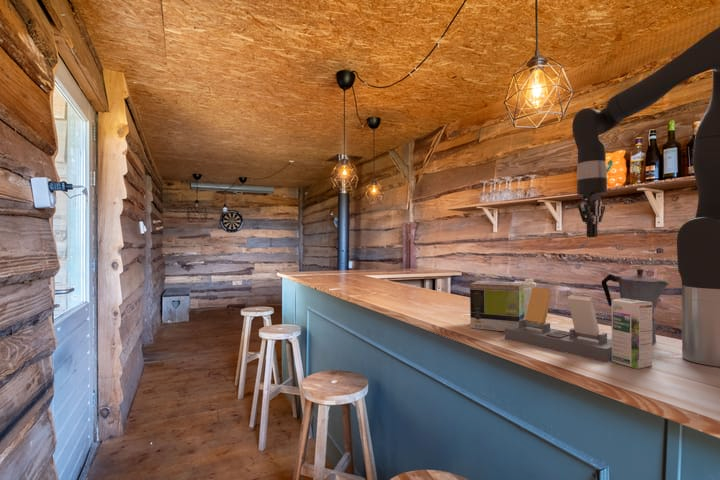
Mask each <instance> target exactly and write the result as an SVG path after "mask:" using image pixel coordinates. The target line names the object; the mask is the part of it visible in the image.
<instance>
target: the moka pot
mask: <svg viewBox="0 0 720 480" xmlns="http://www.w3.org/2000/svg"><path fill="white" fill-rule="evenodd" d="M636 272H637V273H636V274H635V275H629V276H628V275H627V276H622V275H614V274H610V273H609V274H608V275H607V276H606V277H604V278H603V279H602V280H601V287H602V289H603V292H604V295H605V298H606V301H607V304H608V306H609V307H612V300H613V299H612V298H611V294H610V290H609V287H608V284H607V283H608V281H611V282H614V283H618V286H619V297H620V298H619V299H631V300H638V301H645V302H652V345H653V344H656V342H657V337H656V326H655V325H656V324H655V317H654V313H655V308H657V305H658V300H659V298H660V296H661V295H662V294H663V292H664V291H665V289H667V286H669V285H670V283H669V282H668V281H666V280H663V279H657V278H653V277H650V276H646V275H643V274H644V269H641V268H638V269H636Z"/></svg>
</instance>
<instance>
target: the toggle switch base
mask: <svg viewBox="0 0 720 480" xmlns="http://www.w3.org/2000/svg"><path fill="white" fill-rule="evenodd" d="M525 321H526V320H525V319H522V320H519V325H516V326H512V327H508V328H505V331H504V340H509V341H513V342H517V343H518V342H519V343H522V344H526V345H530V346H535V347H540V348H544V349H548V350H553V351H556V352H557V351H558V352H561V353H566V354H570V355H574V356H579V357H583V358H588V359H592V360H596V361H601V362H605V363H607V362H610V361H612V338H611V339H610V338H608V333H606V332H602V333H599V340H595V339H590V338H585V337H579V336H576V332H575V328H574V327H572V328H570V329H569V331H568V330H567V331H566V330H561V329H557V328H556V329H554V328H551V323H549V322H545V324H542V329H537V328H532V327H527V326H524V322H525Z"/></svg>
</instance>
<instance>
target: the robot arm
mask: <svg viewBox="0 0 720 480" xmlns="http://www.w3.org/2000/svg"><path fill="white" fill-rule="evenodd" d="M710 70H712V92H711V98H710V101H709V103H708V106H707V108H706V110H705V112H704V114H703V116H702V118H701V120H700V122H699V123H698V126H697V129H696V132H695V135H694V140H693V141H694V143H693V151H692V168H693V175H694V179H695V183H696V188H697V194H698V196H697V198H698V199H697V209H696V213H695V217H694V218H692V219H690V220H687V221H686V222H685V223H683V224H682V225H681V227H680V228H679V230H678V232H677V236H676V255H677V260H676V261H677V271H678V273H679V276H680V279H681V353H682V355H681V356H682V357H681V358H683V359H684V360H687V361H690V362H693V363H695V364H700V365H705V366H711V367H717V368H719V367H720V26H719V27H717V28H715V29H714V30H712V31H711V32H709V33H708V34H705V36H703V37H701V38H700V39H699V40H697V42H695V43H693V45H691V46H690V47H689V48H687V49H686V50H684V51H683V52H681V53H680V54H679V55H677V56H676V57H675V58H673V59H672V60H670V61H669V62H668V63H667V64H665V65H663V66H662V67H661V68H659V69H657V70H656V71H654V72H653V73H651V74H649V75H648V76H646V77H645V78H644V79H641V80H640V81H638V82H636V83H634V84H633V85H631V86H629V87H627V88H626V89H624V90H622V91H620V92H618V93H617V94H614V96H612V97H611V98H610V99H608V101H607V104H606V106H605V107H604V108H602V109H600V110H598V109H594V108H588V107H587V108H583V109H581V110H579V111H577V113H576V114H575V115H574V117H573V120H572V126H571V127H572V134H573V138H574V142H575V145H576V149H577V168H576V194H577V196H581V197H582V199H581V204H580V203H579V204H577V210H578V212H579V215H580V218H581V221H582V223H584V224H585V225H586V237H587V238H598V225H599V224H600V223H602V221H603V217H604V214H605V210H606V206H605V205H603V202H602V198H601V196H602V195H606V194H607V192H608V169H607V161H606V160H607V157H606V154H607V153H606V152H607V150H606V145H605V143H604V142H603V141H602V140H601V139H600V138H599V136H601V135H603V134H605V133H607V132H609V131H610V130H612V129H614V127H617V126H618V125H619V124H620V123H621V122H622V121H624V120H626V119H627V118H629V117H631V116H634V115H635V114H637V113H639V112H642V111H644V110H646V109H648V108H649V107H651V106H652V105H654V104H656V103H657V102H658V101H660V100H661V99H662V98H663V97H664V96H666V95H667V94H668V93H669V92H670V91H672V90H673V89H674V88H675V87H677V86H679V85H680V84H681V83H684V82H685V81H687V80H688V79H691V78H692V77H696V76H698V75H700V74H702V73H705V72H708V71H710Z"/></svg>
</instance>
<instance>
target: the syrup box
mask: <svg viewBox="0 0 720 480" xmlns="http://www.w3.org/2000/svg"><path fill="white" fill-rule="evenodd" d="M611 300H612V306H611V309H610V310H611V340H612V360H611V362H612V363H616V364H620V365H623V366H625V367H628V368H632V369H635V370H639V369H643V368H647V367H652V366H653V344H652V302H645V301H638V300H631V299H621V298H615V299H611Z"/></svg>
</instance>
